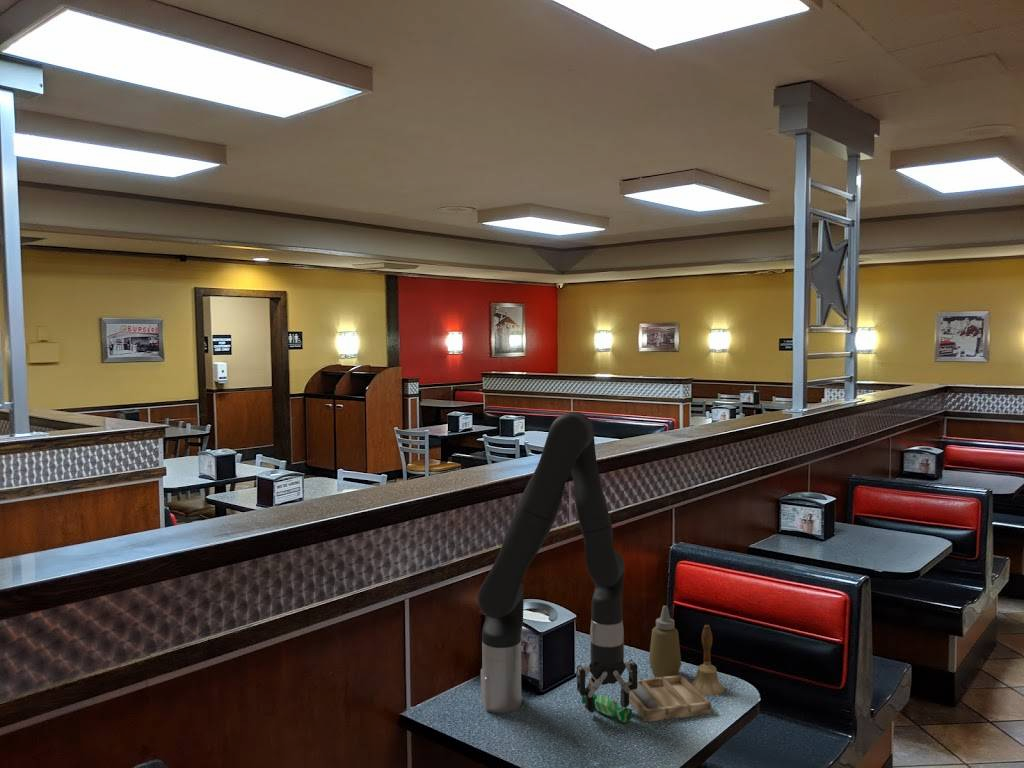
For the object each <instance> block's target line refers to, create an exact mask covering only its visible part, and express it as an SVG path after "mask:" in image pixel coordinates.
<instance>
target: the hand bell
mask: <svg viewBox="0 0 1024 768" xmlns="http://www.w3.org/2000/svg"><path fill="white" fill-rule="evenodd" d="M701 644H702V648H703V663H702V664H700V665H698V666H697V672H696V675H695V679H694V680H692V681H691V682H690V683H691V684H692V685H693V686H694V687H695V688H696V689H697V690H698V691H699V692H700V693H701V694H702V695H703V696H718V695H721V694H722V693H723V692H724V691H725V688H724V685H722V683H721V682H720V680H719V679H718V677H719V676H718V673H717V671H718V670H717V668H716V666H714V665H713V664H712V660H711V658H712V657H711V650H712V646H713V633H712V631H711V627H710V624H704V626H703V628H702V633H701Z"/></svg>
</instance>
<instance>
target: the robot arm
mask: <svg viewBox="0 0 1024 768" xmlns="http://www.w3.org/2000/svg"><path fill="white" fill-rule="evenodd" d="M594 432H595V431H594V425H593V422H592V421H591V419H590V418H589V417H588V416H586V414H584V413H582V412H578V411H570V412H566V413H564V414H561V415H559V416H557V418H555V419H554V421H553V422H552V423H551V426H550V428H549V430H548V433H547V437H546V440H545V444H544V446H543V449H542V453H541V455H540V459H539V461H538V463H537V465H536V466H537V467H536V468H535V470H534V472H533V474H532V475H531V477H530V479H529V480H528V482H527V485H526V487H525V489H524V490H523V493H522V495H521V497H520V499H519V500H518V503H517V505H516V508H515V510H514V511H513V515H512V517H511V520H510V522H509V525H508V527H507V530H506V532H505V535H504V538H503V541H502V544H501V547H500V550H499V553H498V555H497V557H496V560H495V561H494V562H493V565H492V567H491V569H490V570H489V572H488V574H487V575H486V577H485V579H484V580H483V582H482V584H481V585H480V587H479V590H478V595H477V600H478V605H479V609H480V610H481V612H482V613H483V614H484V615H485V619H484V623H483V627H482V628H481V629H482V630H481V647H482V648H481V649H482V650H481V652H482V653H481V654H482V655H481V656H482V657H481V660H482V664H481V667H482V668H480V701H481V704H482V706H483V709H484V712H486V713H487V712H488V713H489V712H493V713H498V714H501V713H509V712H513V711H515V710H517V709H519V708H520V707H521V705H522V701H523V700H522V630H523V626H524V625H523V624H524V599H525V598H524V586H523V582H522V581H523V579H524V576H525V574H526V572H527V570H528V568H529V566H530V565H531V563H532V562H533V560H534V559H535V557H536V556H537V554H538V552H539V551H540V550H541V547H542V546H543V544H544V543H545V541H546V539H547V538H548V535H549V534H550V531H551V530H552V527H553V525H554V523H555V521H556V518H557V516H558V513H559V511H560V507H561V505H562V500H563V496H564V492H565V491H564V490H565V485H566V483H567V480H568V478H569V475H570V473H571V475H572V482H573V489H574V490H573V491H574V502H575V503H574V504H575V510H576V515H577V519H578V523H579V526H580V531H581V534H582V538H583V541H584V542H583V543H584V555H585V562H586V568H587V572H588V575H589V578H590V580H591V581H592V582H593V583H594V592H593V595H592V598H591V604H590V605H591V606H590V607H591V613H590V614H591V615H590V616H591V619H590V630H589V631H590V633H589V639H590V641H589V642H590V663H589V666H582V665H580V664H579V665H577V666H576V690H577V691H578V693H579V694H580V695H581V697H582V696H583V695H585V704H584V706H585V709H586V710H587V711H589V714H591V713H594V712H595V710H594V708H595V707H594V706H595V705H594V697H593V695H594V694H595V693H596V691H598V690H599V688H600V687H601V685H603V686H605V685H608V684H611V685H612V684H616V683H618V684H619V686H620V706H621V707H626V708H628V706H629V704H630V703H629V692H630V691H631V690H633V689H634V690H635V689H637V680H638V665H637V663H636V662H635V661H634V660H633V659H629V660H628V661H626V662H625V661H624V660H625V659H624V658H625V653H624V652H625V644H624V643H625V641H624V640H625V635H624V632H625V631H624V630H625V629H624V624H623V623H624V622H623V589H624V581H625V562H624V559H623V556H622V555H621V554H620V553H619V551H617V550H615V549H614V544H613V539H614V529H613V524H612V520H611V516H610V513H609V510H608V509H609V508H608V506H607V502H606V498H605V493H604V490H603V486H602V482H601V478H600V473H599V466H598V461H597V454H596V453H597V452H596V444H595V433H594ZM625 670H626V671H627V672H628V681H629V682H628V683H625V681H626V680H624V678H623V677H622V675H623V673H624V672H625ZM589 673H590V674H591V676H590V678H589V679H588V683H587V685H586V678H587V677H588V675H589ZM621 687H622V689H621Z"/></svg>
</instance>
